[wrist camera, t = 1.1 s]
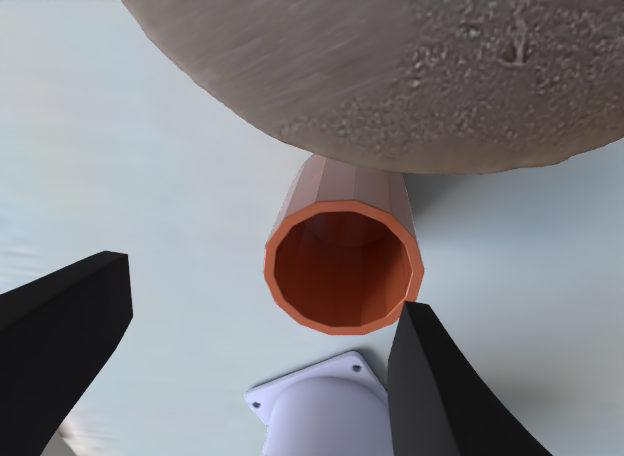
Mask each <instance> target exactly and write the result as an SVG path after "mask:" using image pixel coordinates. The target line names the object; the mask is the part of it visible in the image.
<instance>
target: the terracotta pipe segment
mask: <svg viewBox="0 0 624 456" xmlns="http://www.w3.org/2000/svg"><path fill="white" fill-rule="evenodd" d="M423 275H424V265H423V261H422V256H421V251H420V247H419V242H418V237H417V233H416V228H415V223H414V219H413V214H412V209H411V205H410V200H409V196H408V192H407V188H406V184H405V181H404V177H403V175H402V174H401V172H393V171H381V170H376V169H372V168H364V167H359V166H353V165H351V164H348V163H344V162H339V161H336V160H333V159H330V158H326V157H323V156H320V155H317V154H314V155H313V156H311V157H310V158H309V159H308V160H307V161H306V162H305V163H304V164H303V166H302V167H301V169H300V170H299V172H298V174H297V176H296V177H295V179H294V180H293V182H292V184H291V186H290V189H289V191H288V193H287V196H286V198H285V200H284V203H283V205H282V207H281V210H280V212H279V214H278V217H277V219H276V221H275V224H274V226H273V228H272V231H271V233H270V235H269V238H268V240H267V242H266V245H265V255H264V267H263V276H264V279H265V281H266V283H267V285H268V288H269V290H270V292H271V294H272V297H273V299H274V301H275V302H276V304H277V305H278V306H279V307H280V308H282V309H283V310H284V311H285V312H286V313H287V314H288V315H290V316H291V317H292V318H293V319H294V320H295V321H296V322H298V323H300V324H301V325H303V326H306V327H309V328H312V329H314V330H317V331H320V332H323V333H326V334H328V335H363V334H364V335H365V334H367V333H370V332H373V331H375V330H378V329H380V328H383V327H385V326H388V325H390V324H393V323H394V322H395V321H396V320H397V319H398V318H399V317H400V315H401V311H402V308H403V304H404V300H405V301H411V302H415V300H416V299H417V296H418V292H419V289H420V285H421V282H422V278H423Z"/></svg>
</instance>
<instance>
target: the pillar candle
mask: <svg viewBox="0 0 624 456" xmlns="http://www.w3.org/2000/svg"><path fill="white" fill-rule="evenodd" d="M121 1H122V3H123V4H124V6H125V7H126V8H127V9H128V11H129V12H130V13H131V14H132V16H133V17H134V18H135V19H136V21H137V22H138V24H139V25H140V27H141V28H142V30H143V31H144V33H145V34H146V36H147V37H148V38H149V39H150V40H151V41H152V42H153V43H154V44H155V45H156V46H157V47H158V48H159V49H160V50H161V51H162V52H163V54H164V55H166V56H167V57H168V58H169V59H170V60H171V61H173V62H174V63H175V64H176V65H177V66H178V67H179V68H180V69H181V70H182V71H184V72H185V73H186V74H187V75H188V76H190V78H191V79H192V80H193V81H194V82H195V83H196V84H197V85H198V86H200V87H201V88H203V89H205V90H206V91H207V92H208V93H209V94H210V95H212V96H213V97H214V98H216V99H217V100H218V101H220V102H221V103H223V104H224V105H225V106H226V107H228V108H229V109H231V110H232V111H233V112H234V113H235V114H237V115H238V116H240V117H241V118H243V119H244V120H246V121H247V122H248V123H250V124H252V125H253V126H254V127H256V128H257V129H259V130H261V131H263V132H264V133H266V134H268V135H270V136H271V137H274V138H276V139H278V140H280V141H282V142H284V143H286V144H290V145H293V146H295V147H298V148H301V149H303V150H307V151H310V152H312V153H315V154H317V155H320V156H323V157H326V158H330V159H333V160H336V161H339V162H344V163H348V164H351V165H353V166H359V167H364V168H372V169H376V170H381V171H393V172H404V173H416V174H442V175H443V174H485V173H495V172H502V171H507V170H512V169H517V168H528V167H544V166H548V165H555V164H559V163H560V162H562V161H565V160H567V159H568V158H570V157H571V156H574V155H577V154H580V153H584V152H587V151H590V150H595V149H597V148H600V147H603V146H605V145H607V144H609V143H612V142H614V141H617V140H619V139H621V138H623V137H624V0H121Z"/></svg>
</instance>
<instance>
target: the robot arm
mask: <svg viewBox="0 0 624 456" xmlns="http://www.w3.org/2000/svg"><path fill="white" fill-rule="evenodd" d="M132 318H133V309H132V297H131V286H130V274H129V262H128V254H123V253H117V252H111V251H103V252H100V253H97V254H94V255H92V256H89V257H87V258H85V259H82V260H80V261H78V262H75V263H73V264H71V265H69V266H66V267H64V268H62V269H60V270H57V271H55V272H53V273H51V274H48V275H46V276H44V277H41V278H39V279H37V280H35V281H32V282H30V283H28V284H25V285H23V286H21V287H18V288H16V289H13V290H11V291H8V292H6V293H3V294H1V295H0V456H40V455H41V454H42V452H43V450H44V448H45V447H46V445H47V444H48V442H49V440H50V439H51V437H52V436H53V435H54V433H55V432H56V430H57V429H58V427H59V426H60V424H61V423H62V422H63V420H64V419H65V417H66V416H67V415H68V413H69V412H70V411H71V409H72V408H73V407H74V405H75V404H76V403H77V401H78V400H79V399H80V397H81V396H82V395H83V393H84V392H85V391H86V389H87V388H88V387H89V385H90V384H91V382H92V381H93V380H94V378H95V377H96V376H97V374H98V373H99V372H100V370H101V369H102V368H103V366H104V365H105V363H106V362H107V361H108V359H109V358H110V356H111V355H112V354H113V352H114V351H115V349H116V348H117V346H118V344H119V342H120V341H121V339H122V337H123V335H124V333H125V331H126V330H127V328H128V326H129V324H130V322H131V320H132ZM355 365H359V366H360V367H356V366H355ZM244 399H245V401H246V402H247V404H248V405H249V406H250V407H251V408H252V409H253V410H254V412H255V413H256V414H257V415H258V416H259V417H260V419H261V420H262V421H263V422H264V423H265V424H266V425H267V427H268V431H267V435H266V439H265V444H264V448H263V452H262V456H553V455H552V454H551V453H550V452H549V451H547V450H546V449H545V448H544V447H543V446H542V445H541V444H540V443H539V442H538V441H537V440H536V439H535V438H534V437H533V436H532V435H531V434H530V433H529V432H528V431H527V430H526V429H525V428H524V427H523V426H522V424H521V423H520V422H519V421H518V420H517V419H516V418H515V417H514V416H513V415H512V414H511V413H510V412H509V411H508V410H507V409H506V407H505V406H504V405H503V404H502V403H501V402H500V401H499V400H498V398H497V397H496V396H495V395H494V394H493V392H492V391H491V390H490V389H489V388H488V386H487V385H486V384H485V383H484V381H483V380H482V379H481V378H480V377H479V375H478V374H477V373H476V371H475V370H474V369H473V368H472V366H471V365H470V363H469V362H468V361H467V359H466V358H465V357H464V355H463V354H462V353H461V351H460V350H459V348H458V347H457V346H456V344H455V343H454V341H453V340H452V338H451V337H450V335H449V334H448V332H447V331H446V329H445V328H444V326H443V325H442V323H441V322H440V320H439V319H438V317H437V316H436V314H435V313H434V312H433V310H432V309H431V307H430V306H429V304H423V303H417V302H411V301H405V300H404V304H403V308H402V311H401V315H400V319H399V322H398V326H397V330H396V334H395V337H394V341H393V345H392V348H391V352H390V356H389V359H388V393H387V392H386V390H385V389H384V387H383V386H382V385H381V383H380V382H379V380H378V379H377V377H376V376H375V375H374V373H373V372H372V370H371V369H370V367H369V366H368V365H367V363H366V362H365V360H364V359H363V357H362V356H361V355H360V354H359V353H358V352H355V351H350V352H347V353H344V354H342V355H339V356H336V357H334V358H331V359H329V360H326V361H323V362H321V363H318V364H315V365H313V366H310V367H307V368H305V369H302V370H300V371H297V372H294V373H292V374H289V375H286V376H284V377H281V378H279V379H276V380H273V381H271V382H268V383H265V384H263V385H260V386H258V387H255V388H252V389H250V390H248V391H246V393H245V396H244ZM257 402H258V403H257Z"/></svg>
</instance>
